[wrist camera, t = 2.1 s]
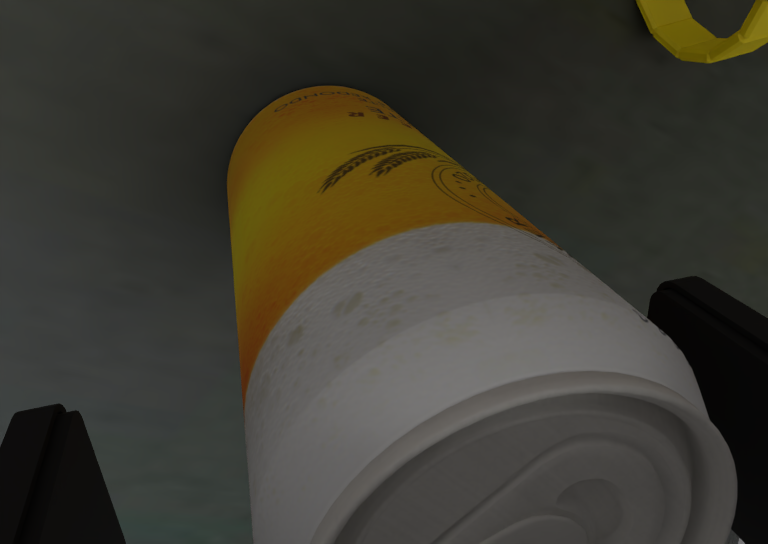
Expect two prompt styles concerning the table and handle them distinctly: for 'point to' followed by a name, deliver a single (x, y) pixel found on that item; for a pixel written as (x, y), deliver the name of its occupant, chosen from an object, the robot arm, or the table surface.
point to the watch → (702, 31)
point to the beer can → (443, 356)
